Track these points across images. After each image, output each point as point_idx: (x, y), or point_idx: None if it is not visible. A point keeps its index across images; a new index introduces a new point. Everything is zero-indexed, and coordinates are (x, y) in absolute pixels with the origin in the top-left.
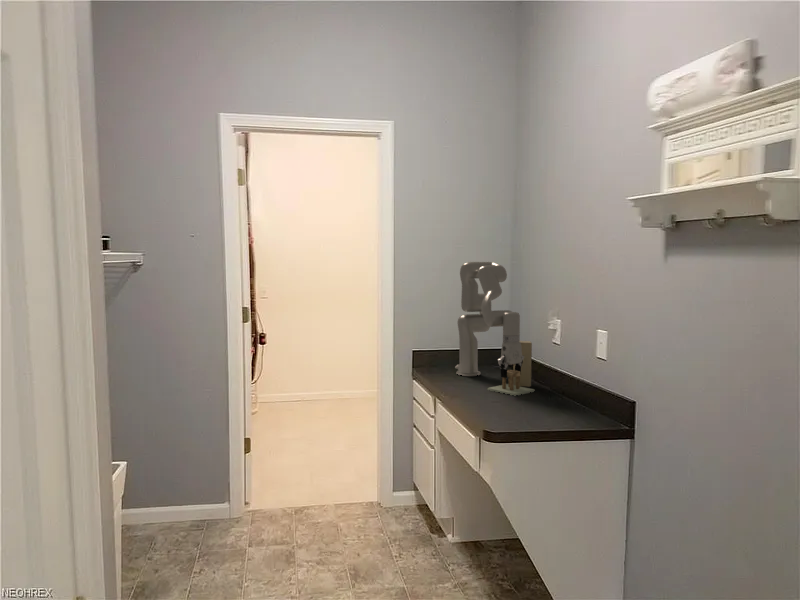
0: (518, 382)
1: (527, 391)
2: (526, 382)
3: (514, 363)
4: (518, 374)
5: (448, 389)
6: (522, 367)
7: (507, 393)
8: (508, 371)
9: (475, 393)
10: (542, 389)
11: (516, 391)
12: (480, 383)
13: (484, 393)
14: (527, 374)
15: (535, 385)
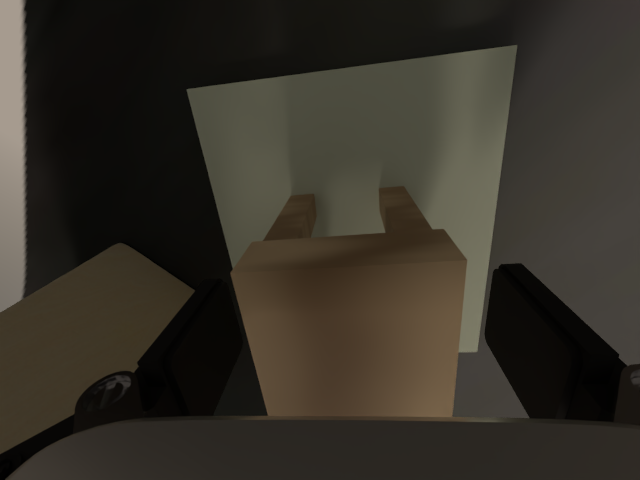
0: (298, 214)
1: (298, 75)
2: (130, 277)
3: (434, 430)
4: (289, 249)
5: None
6: (49, 411)
7: (498, 150)
8: (390, 369)
9: (632, 323)
10: (81, 113)
11: (404, 127)
12: None
13: (587, 288)
14: (66, 316)
15: (66, 250)
